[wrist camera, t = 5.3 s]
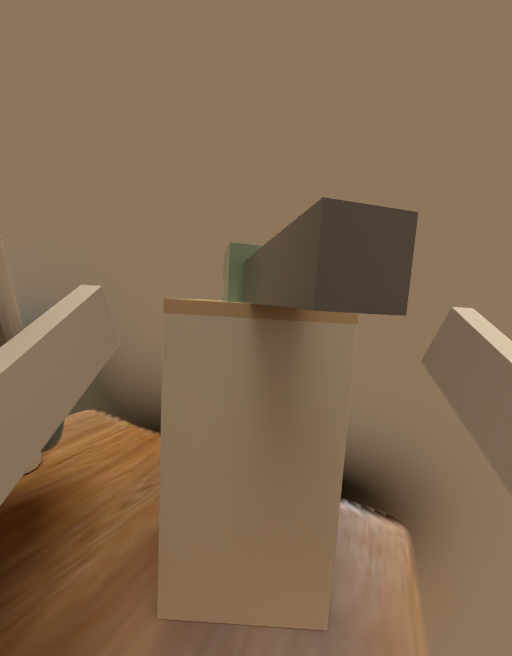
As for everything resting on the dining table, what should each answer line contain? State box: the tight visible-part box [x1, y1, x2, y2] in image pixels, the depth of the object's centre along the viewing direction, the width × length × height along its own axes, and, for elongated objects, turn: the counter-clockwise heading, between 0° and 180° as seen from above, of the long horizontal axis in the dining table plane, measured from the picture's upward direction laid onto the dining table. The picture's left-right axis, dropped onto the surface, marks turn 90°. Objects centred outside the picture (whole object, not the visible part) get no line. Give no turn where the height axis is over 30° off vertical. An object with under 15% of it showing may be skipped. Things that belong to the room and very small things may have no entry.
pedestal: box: [157, 298, 359, 631], centre depth 30 cm, size 14×16×30 cm
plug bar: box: [222, 197, 418, 316], centre depth 20 cm, size 22×7×6 cm, turn 12°
